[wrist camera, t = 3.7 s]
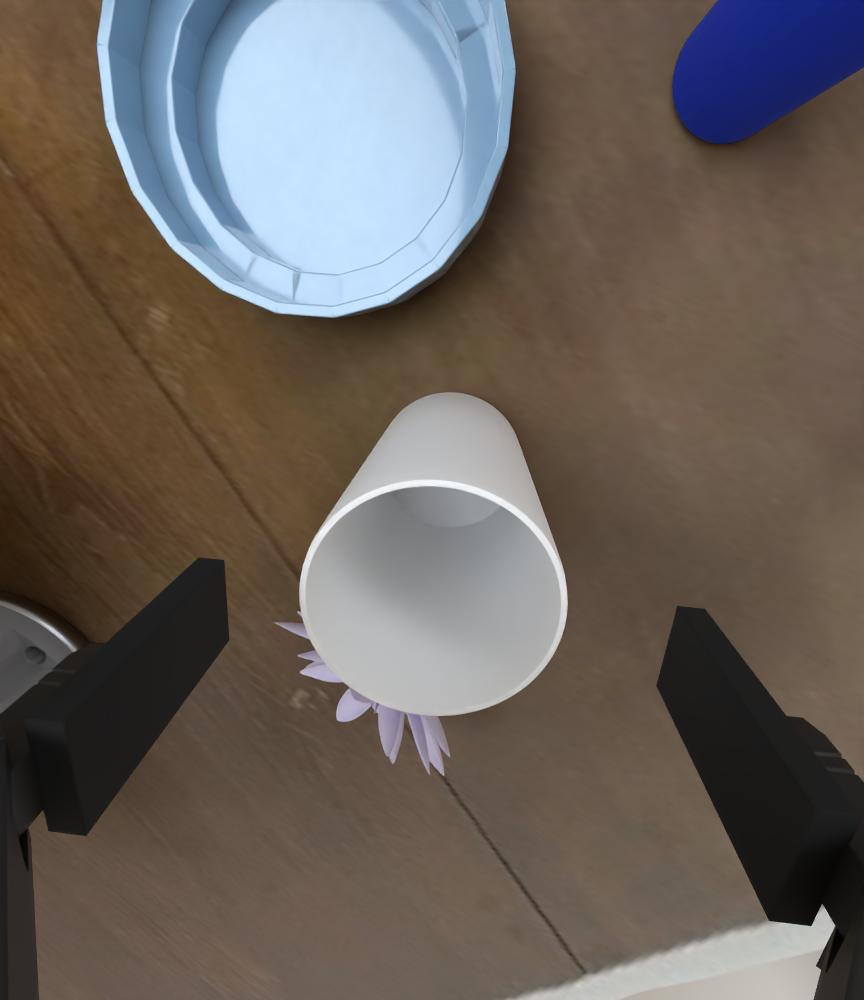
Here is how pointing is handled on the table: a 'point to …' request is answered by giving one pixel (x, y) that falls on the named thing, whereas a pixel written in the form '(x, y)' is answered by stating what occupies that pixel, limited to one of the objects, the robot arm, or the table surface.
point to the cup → (437, 566)
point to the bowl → (311, 139)
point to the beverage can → (763, 62)
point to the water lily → (380, 713)
